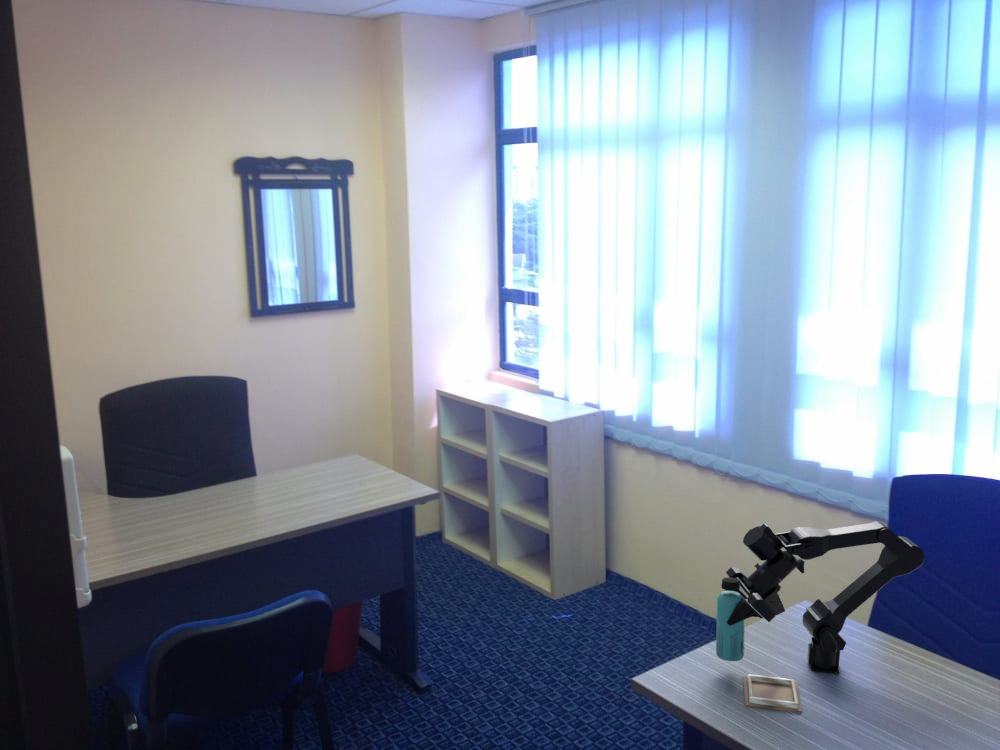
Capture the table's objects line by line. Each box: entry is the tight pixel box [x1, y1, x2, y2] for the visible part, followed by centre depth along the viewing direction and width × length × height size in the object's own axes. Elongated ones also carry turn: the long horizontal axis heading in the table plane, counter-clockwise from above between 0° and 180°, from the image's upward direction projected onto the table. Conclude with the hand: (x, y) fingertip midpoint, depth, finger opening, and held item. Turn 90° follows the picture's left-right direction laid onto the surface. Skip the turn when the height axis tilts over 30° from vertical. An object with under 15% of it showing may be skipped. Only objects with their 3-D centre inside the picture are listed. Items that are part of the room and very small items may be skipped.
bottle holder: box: [742, 673, 803, 714], centre depth 204 cm, size 12×12×2 cm
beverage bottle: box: [715, 576, 745, 662], centre depth 211 cm, size 6×7×20 cm
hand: (723, 617), depth 211 cm, fingers closed on beverage bottle, 6 cm apart
